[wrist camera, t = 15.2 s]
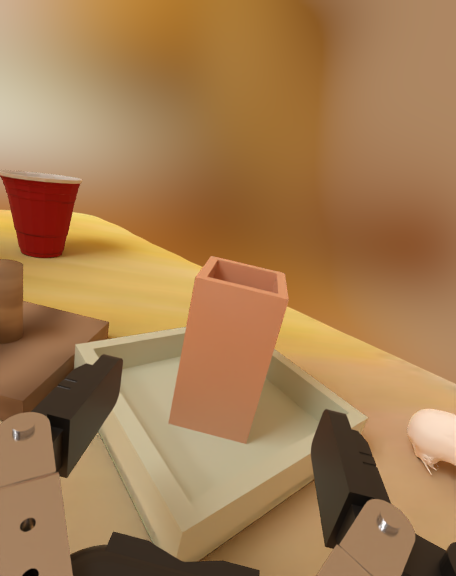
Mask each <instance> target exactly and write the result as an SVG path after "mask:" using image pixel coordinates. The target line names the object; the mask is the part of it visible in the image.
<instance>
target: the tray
mask: <svg viewBox="0 0 456 576" xmlns="http://www.w3.org/2000/svg"><path fill="white" fill-rule="evenodd" d="M185 331H186V327H182V328H176V329H170V330H163V331H157V332H151V333H144V334H138V335H132V336H126V337H119V338H113V339H107V340H100V341H94V342H88V343H81V344H75V359H74V369H75V368H77V367H79V366H81V365H84V364H86V363H87V364H91V365H93V364H94V363H95V362H96V361H97V360H98V359H99V358H100V356H101V355H103V354H106V355H110V356H114V357H118V358H122V359H123V368H122V377H121V385H120V393H119V397H118V400H117V402H116V404H115V406H114V408H113V410H112V411H111V413H110V414H109V416H108V417H107V419H106V420H105V422H104V423H103V425H102V426H101V428H100V429H99V431H98V432H99V434H100V436H101V438H102V440H103V442H104V444H105V446H106V448H107V450H108V452H109V454H110V457H111V459H112V461H113V463H114V465H115V467H116V469H117V471H118V473H119V475H120V477H121V479H122V481H123V483H124V485H125V487H126V489H127V491H128V493H129V496H130V498H131V500H132V502H133V504H134V506H135V508H136V510H137V512H138V514H139V516H140V518H141V520H142V522H143V524H144V526H145V528H146V530H147V532H148V534H149V537H150V539H151V541H152V543H153V544H154V545H156V546H158V547H159V548H161V549H163V550H164V551H166V552H168V553H169V554H171V555H172V556H174V557H176V558H177V559H179V560H181V561H184V562H198V561H199V560H201V559H202V558H204V557H205V556H206V555H208V554H209V553H211V552H212V551H214V550H215V549H216V548H218V547H219V546H221V545H222V544H223V543H225V542H226V541H228V540H229V539H231V538H232V537H233V536H235V535H236V534H238V533H239V532H240V531H242V530H243V529H245V528H246V527H247V526H249V525H250V524H252V523H253V522H255V521H256V520H257V519H259V518H260V517H262V516H263V515H264V514H266V513H267V512H269V511H270V510H271V509H273V508H274V507H276V506H277V505H279V504H280V503H281V502H283V501H284V500H286V499H287V498H288V497H290V496H291V495H293V494H294V493H296V492H297V491H298V490H300V489H301V488H303V487H304V486H305V485H307V484H308V483H310V482H311V481H312V480H314V473H313V467H312V461H311V445H312V441H313V438H314V435H315V432H316V430H317V427H318V424H319V421H320V419H321V416H322V413H323V411H324V410H325V409H328V410H332V411H336V412H340V413H345V414H346V415H347V417H348V420H349V423H350V426H351V429H352V430H356V431H359V433H360V434H361V433H362V431H363V428H364V426H365V424H366V422H367V419H368V417H367V416H365V415H364V414H362V413H361V412H360V411H358V410H357V409H356V408H354V407H353V406H352V405H350V404H349V403H347V402H346V401H345V400H343V399H342V398H341V397H339V396H338V395H336V394H335V393H334V392H332V391H331V390H330V389H328V388H327V387H326V386H324V385H323V384H321V383H320V382H319V381H317V380H316V379H315V378H313V377H312V376H311V375H309V374H308V373H306V372H305V371H304V370H302V369H301V368H300V367H298V366H297V365H296V364H294V363H293V362H291V361H290V360H289V359H287V358H286V357H285V356H283V355H282V354H280V353H279V352H278V351H276V350H275V349H274V351H273V355H272V358H271V361H270V365H269V368H268V372H267V375H266V378H265V382H264V385H263V389H262V392H261V396H260V399H259V402H258V406H257V409H256V413H255V416H254V419H253V423H252V426H251V430H250V433H249V436H248V440H247V443H246V444H244V443H240V442H236V441H233V440H229V439H225V438H221V437H217V436H213V435H210V434H206V433H202V432H198V431H194V430H190V429H187V428H183V427H179V426H175V425H171V424H168V422H169V417H170V412H171V406H172V401H173V395H174V390H175V385H176V379H177V374H178V369H179V363H180V358H181V352H182V347H183V342H184V336H185Z"/></svg>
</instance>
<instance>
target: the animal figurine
mask: <svg viewBox="0 0 456 576" xmlns="http://www.w3.org/2000/svg"><path fill="white" fill-rule="evenodd" d="M407 435H408V437H409V439H410V441H411V443H412V445H413V448H414V452H415V455H416V457H419V458H420V459H421V460H422V461H423V463H424V465H425V467H426V468H427V470H428V471H429V472H430V470H429V468H428V467H427V465H429V466H430V467H432V468H433V469H435V468H434V467H433V466H434V465H433V464H436V463H437V462H438V461H445V462H448V463H451V464H453V465H455V466H456V415H454V414H452V413H449V412H445V411H441V410H436V409H422V410H419V411H418V412H416V413H415V414H414V415H413V416H412V417H411V419H410V421H409V423H408V427H407ZM426 464H427V465H426ZM430 464H431V465H433V466H431V465H430ZM437 466H438V465H437ZM435 470H436V469H435ZM436 471H437V470H436ZM430 474H431V472H430ZM431 475H432V474H431Z"/></svg>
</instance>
